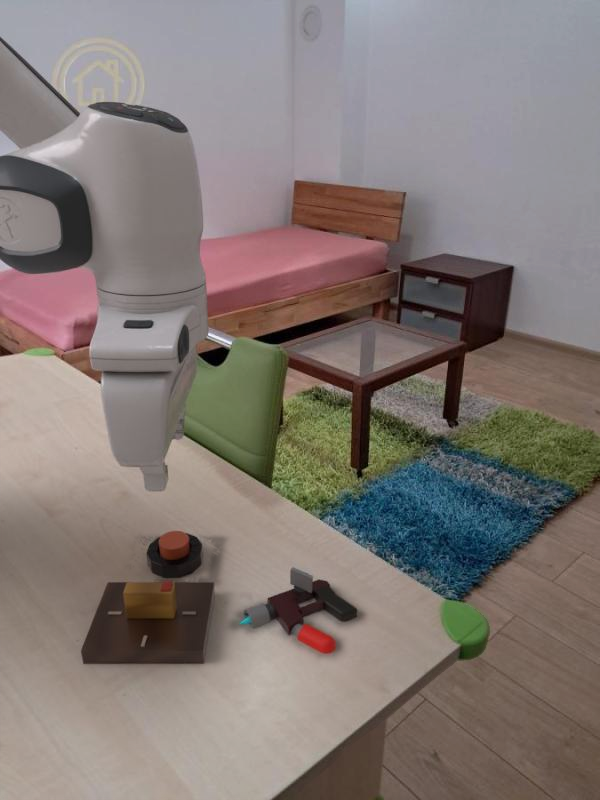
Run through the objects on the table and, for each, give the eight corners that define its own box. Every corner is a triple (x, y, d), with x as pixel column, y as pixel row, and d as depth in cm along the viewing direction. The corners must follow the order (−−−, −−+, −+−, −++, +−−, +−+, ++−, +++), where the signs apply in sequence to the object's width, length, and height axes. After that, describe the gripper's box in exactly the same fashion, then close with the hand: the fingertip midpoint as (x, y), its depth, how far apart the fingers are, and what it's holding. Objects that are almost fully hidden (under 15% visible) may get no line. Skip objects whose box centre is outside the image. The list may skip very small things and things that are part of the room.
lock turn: (126, 619, 66) (122, 590, 64) (130, 608, 67) (126, 580, 66) (174, 618, 66) (171, 590, 64) (177, 608, 67) (174, 580, 66)
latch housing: (128, 590, 74) (125, 570, 73) (142, 548, 82) (140, 528, 80) (213, 590, 74) (212, 570, 73) (220, 548, 82) (219, 529, 80)
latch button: (157, 560, 75) (155, 548, 74) (162, 542, 78) (161, 530, 78) (187, 560, 75) (186, 549, 75) (191, 542, 79) (191, 530, 78)
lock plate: (84, 672, 63) (80, 649, 62) (110, 602, 72) (107, 580, 71) (204, 672, 63) (202, 649, 62) (215, 602, 73) (214, 580, 71)
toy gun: (232, 623, 70) (231, 588, 68) (326, 588, 75) (327, 554, 73) (271, 687, 62) (271, 650, 60) (372, 643, 67) (375, 607, 65)
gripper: (143, 285, 63) (155, 411, 68) (80, 358, 44) (103, 523, 50) (207, 286, 63) (213, 412, 68) (171, 358, 44) (184, 523, 50)
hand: (167, 459), depth 59 cm, fingers open, 8 cm apart
